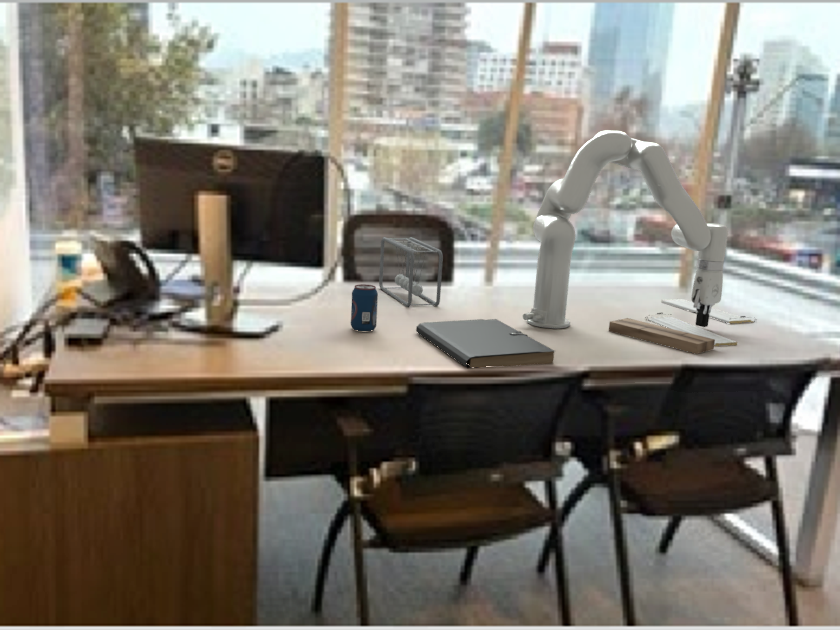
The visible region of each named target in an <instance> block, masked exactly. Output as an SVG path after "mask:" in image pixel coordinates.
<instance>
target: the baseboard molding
mask: <svg viewBox="0 0 840 630" xmlns="http://www.w3.org/2000/svg"><path fill="white" fill-rule="evenodd" d="M660 302H661V303H662V304H664V305H665V304H666V305H669V306H672V307H674V306H675V308H677V307H678V309H681V308H682V309H681V310H684V309H685V311H687V310H689V311H688V312H690V311H692V312H691V313H693V312H696V308H694V307H693V306H694V303H693V302H692V300H687V299H684V298H679V299H678V298H675V299H661V301H660ZM696 313H697V312H696ZM696 313H695V314H696ZM708 314H709V317H712V318H715V319H718V320H721V321H724V322H727V323H737V324H743V323H742V322H751V323H756V321H757V320H758V319H756V318H755V319H754V320H752V319H750V318H751V316H749V317H746V316H745V315H737V314H733V313H731V312H727V311H723V310H720V309H717V308H713V307H712V308H711V312H710V313H708ZM712 318H711V319H712ZM715 319H714V320H715ZM718 320H717V321H718ZM721 321H720V322H721ZM724 322H723V323H724ZM727 323H726V324H727Z"/></svg>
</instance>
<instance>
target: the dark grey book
mask: <svg viewBox="0 0 840 630" xmlns="http://www.w3.org/2000/svg"><path fill="white" fill-rule="evenodd" d="M415 330H416V333H417V332H418V333H419V334H418V333H417V334H418V335H420V334H421V335H422V336H423V338H424V337H425V338H426V340H427V339H428V340H429V341H431V342H432V343H433V344H432V343H431V342H430V343H431V344H432V345H434V344H435V345H436V346H435V345H434V346H435V347H437V346H438V347H439V348H440V350H441V349H442V350H443V351H442V350H441V351H442V352H444V351H445V352H446V353H448V354H449V355H450V356H449V355H448V354H447V355H448V356H449V357H451V356H452V357H453V358H455V359H456V360H457V361H456V360H455V359H454V360H455V361H456V362H458V361H459V362H460V363H459V362H458V363H459V364H461V363H462V364H463V365H464V366H463V365H462V364H461V365H462V366H463V367H465V366H466V367H467V368H468V366H469V365H470V366H469V368H470V367H486V366H504V367H519V365H521V366H531V365H532V366H536V365H546V364H547V365H550V364H554V361H555V359H554V358H555V350H554V349H552V348H550V347H548V346H547V345H545V344H543V343H542V342H540V341H537V340H536V339H534V338H532V337H530V336H529V335H528V334H525V333H523V332H522V331H519V330H518V329H516V328H513V327H512V326H511V325H508V324H506V323H504V322H503V321H501V320H499V319H498V318H490V319H482V318H480V319H464V320H445V321H444V320H443V321H427V322H421V323H419V324H418V325H417V326H416V329H415ZM421 335H420V336H421ZM422 336H421V337H422ZM425 338H424V339H425ZM428 340H427V341H428ZM429 341H428V342H429ZM438 347H437V348H438ZM439 348H438V349H439ZM445 352H444V353H445ZM446 353H445V354H446ZM452 357H451V358H452ZM453 358H452V359H453ZM466 363H467V364H469V365H467V364H466ZM516 365H518V366H516ZM466 367H465V368H466Z"/></svg>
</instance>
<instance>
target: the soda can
mask: <svg viewBox="0 0 840 630" xmlns="http://www.w3.org/2000/svg"><path fill="white" fill-rule="evenodd" d="M378 293H379V292H378V291H377V287H376V286H375V285H373V284H355V285H354V287H353V289H352V291H351V312H350V326H351V328H352V330H353V329H354V330H358V331H371V330H373V331H375V329H376V327H377V324H378V323H377V319H378V317H377V315H378V297H379V296H378ZM354 330H353V331H354Z"/></svg>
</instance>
